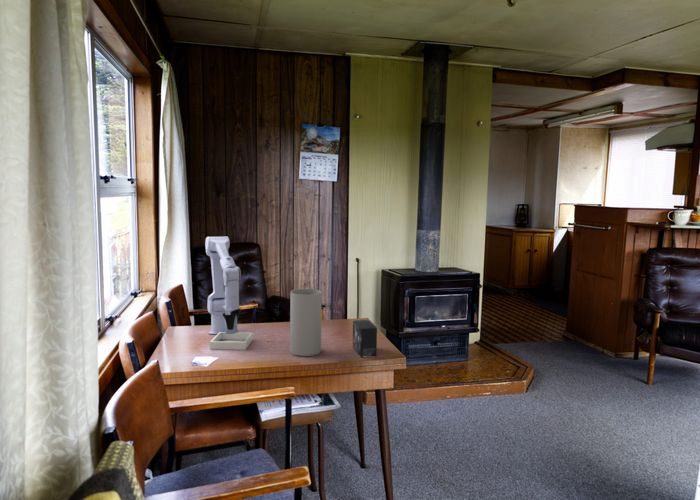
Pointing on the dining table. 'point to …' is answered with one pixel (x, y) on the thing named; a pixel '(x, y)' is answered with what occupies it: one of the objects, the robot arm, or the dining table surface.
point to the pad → (233, 341)
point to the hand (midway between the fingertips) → (231, 327)
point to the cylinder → (233, 327)
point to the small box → (365, 338)
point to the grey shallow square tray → (218, 344)
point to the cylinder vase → (305, 322)
